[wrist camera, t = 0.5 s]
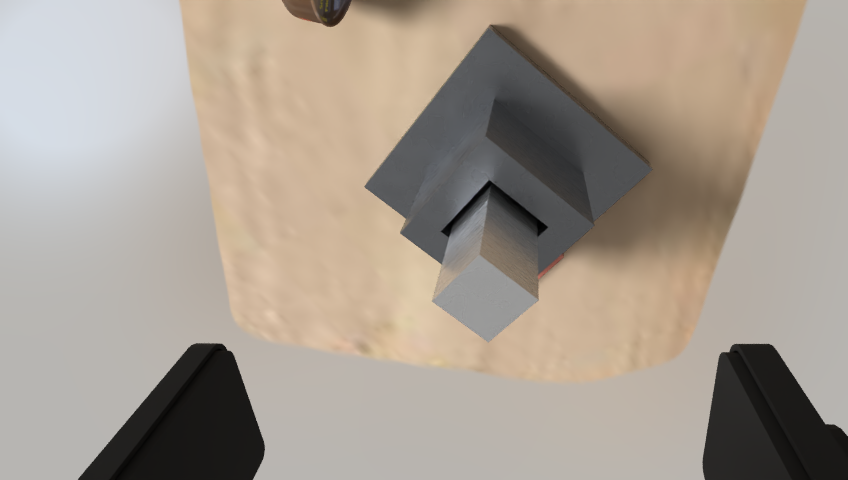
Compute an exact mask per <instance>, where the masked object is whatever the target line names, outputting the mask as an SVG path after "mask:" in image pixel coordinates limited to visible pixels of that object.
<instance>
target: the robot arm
mask: <svg viewBox="0 0 848 480" xmlns="http://www.w3.org/2000/svg"><path fill="white" fill-rule="evenodd" d="M264 451H265V445H264V441H263V438H262V435H261V432H260V429H259V426H258V423H257V421H256V418H255V415H254V412H253V410H252V406H251V403H250V400H249V397H248V395H247V392H246V389H245V386H244V383H243V380H242V377H241V374H240V371H239V369H238V366H237V363H236V360H235V357H234V355H233V353H232V352H231V351H227V349H226V347H225V346H224V345H223V344H202V343H201V344H200V343H199V344H198V343H196V344H193V345H191V346H190V347H189V348H188V349H187V351H186V352H185V353H184V354H183V355H182V357H181V358H180V359H179V360H178V361H177V362H176V364H175V365H174V366H173V367H172V368H171V369H170V371H169V372H168V373H167V374H166V375H165V377H164V378H163V379H162V380H161V381H160V383H159V384H158V385H157V386H156V387H155V389H154V390H153V391H152V392H151V393H150V394H149V396H148V397H147V398H146V399H145V400H144V401H143V403H142V404H141V405H140V406H139V408H138V409H137V410H136V411H135V412H134V414H133V415H132V416H131V417H130V418H129V419H128V421H127V422H126V423H125V424H124V425H123V427H122V428H121V429H120V430H119V431H118V432H117V434H116V435H115V436H114V437H113V438H112V440H111V441H110V442H109V443H108V444H107V445H106V447H105V448H104V449H103V450H102V451H101V453H100V454H99V455H98V456H97V457H96V459H95V460H94V461H93V462H92V463H91V464H90V466H89V467H88V468H87V469H86V470H85V472H84V473H83V474H82V475H81V476H80V477H79V479H78V480H253V478H254V476H255V474H256V472H257V470H258V468H259V466H260V464H261V462H262V460H263V457H264ZM703 473H704V477H705V480H848V436H847V435H846V434H845V433H844V431H842V429H841V428H839V427H837V426H836V425H829V424H825V423H824V422H823V420H822V419H821V417H820V416H819V414H818V413H817V411H816V409H815V408H814V406H813V405H812V403H811V402H810V400H809V399H808V397H807V396H806V394H805V393H804V392H803V390H802V388H801V387H800V385H799V384H798V382H797V381H796V379H795V378H794V376H793V375H792V373H791V372H790V370H789V369H788V367H787V366H786V364H785V362H784V361H783V360H782V358H781V356H780V355H779V353H778V352H777V350H776V349H775V348H774V347H773V346H772V345H770V344H734V345H732V347H731V349H730V352H723V353H721V354H720V356H719V361H718V367H717V373H716V379H715V386H714V392H713V398H712V405H711V411H710V417H709V423H708V429H707V436H706V443H705V449H704V455H703Z"/></svg>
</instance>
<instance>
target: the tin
mask: <svg viewBox="0 0 848 480" xmlns="http://www.w3.org/2000/svg"><path fill="white" fill-rule="evenodd" d="M282 1H283V3H284V5H285V7H286V8H287V10H288V11H289V12H290V13H291V14H292V15H294V16H295V17H297V18H300V19H303V20H307V21H312V22H317V23H321V24H323V25H325V26H327V27H333V26H335V25H337V24H338V23H339V22H340V21H341V20H342V19H343V17H344V16H345V14H346V12H347V10H348V8H349V6H350V3H351V1H352V0H282Z"/></svg>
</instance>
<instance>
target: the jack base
mask: <svg viewBox="0 0 848 480" xmlns="http://www.w3.org/2000/svg"><path fill="white" fill-rule="evenodd" d="M652 170H653V169H652V168H651V166H650V164H649V162H648V161H647V160H646V159H644V158H643V157H642V156H641V155H640V154H639V153H638V152H636V151H635V150H634V149H633V148H632V147H631V146H629V145H628V144H627V143H626V142H625V141H624V140H623V139H621V138H620V137H619V136H618V135H617V134H616V133H614V132H613V131H612V130H611V129H610V128H609V127H608V126H606V125H605V124H604V123H603V122H602V121H601V120H599V119H598V118H597V117H596V116H595V115H594V114H593V113H591V112H590V111H589V110H588V109H587V108H586V107H584V106H583V105H582V104H581V103H580V102H579V101H578V100H576V99H575V98H574V97H573V96H572V95H571V94H570V93H568V92H567V91H566V90H565V89H564V88H563V87H561V86H560V85H559V84H558V83H557V82H556V81H555V80H553V79H552V78H551V77H550V76H549V75H548V74H546V73H545V72H544V71H543V70H542V69H541V68H540V67H538V66H537V65H536V64H535V63H534V62H533V61H531V60H530V59H529V58H528V57H527V56H526V55H525V54H523V53H522V52H521V51H520V50H519V49H518V48H516V47H515V46H514V45H513V44H512V43H511V42H510V41H508V40H507V39H506V38H505V37H504V36H503V35H501V34H500V33H499V32H498V31H497V30H496V29H495V28H493V27H492V26H491V25H490V26H489V27H488V28H487V29H486V31H485V32H484V33H483V35H482V36H481V37H480V38H479V40H478V41H477V42H476V43H475V45H474V46H473V47H472V49H471V50H470V51H469V52H468V54H467V55H466V56H465V58H464V59H463V60H462V61H461V63H460V64H459V65H458V67H457V68H456V69H455V70H454V72H453V73H452V74H451V75H450V77H449V78H448V79H447V81H446V82H445V83H444V84H443V86H442V87H441V88H440V90H439V91H438V92H437V93H436V95H435V96H434V97H433V99H432V100H431V101H430V102H429V104H428V105H427V106H426V107H425V109H424V110H423V111H422V113H421V114H420V115H419V116H418V118H417V119H416V120H415V122H414V123H413V124H412V125H411V127H410V128H409V129H408V131H407V132H406V133H405V134H404V136H403V137H402V138H401V140H400V141H399V142H398V143H397V145H396V146H395V147H394V148H393V150H392V151H391V152H390V154H389V155H388V156H387V157H386V159H385V160H384V161H383V163H382V164H381V165H380V166H379V168H378V169H377V170H376V172H375V173H374V174H373V175H372V177H371V178H370V179H369V181H368V182H367V184H366V185H365V188H366V189H368V190H369V191H370V192H372V193H373V194H374V195H376V196H377V197H378V198H380V199H381V200H382V201H384V202H385V203H386V204H388V205H389V206H390V207H392V208H393V209H394V210H395V211H397V212H398V213H399V214H401V215H402V216H403V217H405V218H406V221H405V223H404V225H403V227H402V230H401V232H400V234H402V235H403V236H404V237H406V238H407V239H408V240H410V241H411V242H412V243H414V244H415V245H416V246H418V247H419V248H421V249H422V250H423V251H425V252H426V253H427V254H429V255H430V256H431V257H433V258H434V259H435V260H437V261H438V262H439V263H441V264H442V262H443V259H444V255H445V251H446V248H447V244H448V240H449V237H450V233H451V229H452V226H453V222H454V218H455V216H456V215H457V214H458V212H459V211H460V210H461V209H462V208H463V207H464V206H465V205H466V204H467V203H468V202H469V201H470V200H471V199H472V198H473V196H474V195H475V194H476V193H477V192H478V191H479V190H480V189H481V188H482V187H483V186H484V185H485V184H486V183H487V182H488V180H490V181H491V182H493V183H494V184H495V185H496V186H498V187H499V188H500V189H501V190H503V191H504V192H505V193H506V194H508V195H509V196H510V197H511V198H513V199H514V200H515V201H516V202H518V203H519V204H520V205H521V206H523V207H524V208H525V209H526V210H528V211H529V212H530V213H531V214H533V215H534V216H535V217H536V218H537V235H538V279H539V278H540V277H542V276H543V275H544V274H545V273H546V272H547V271H548V270H550V269H551V268H552V267H553V266H554V265H555V264H556V263H558V262H559V261H560V260H561V259H562V258H563V257H564V254H563V253H564V252H565V251H566V250H567V249H568V248H569V247H570V246H572V245H573V244H574V243H575V242H576V241H577V240H578V239H580V238H581V237H582V236H583V235H584V234H585V233H586V232H588V231H589V230H590V229H591V228H592V227H593V226H594V221H595V220H596V219H597V218H598V217H600V216H601V215H602V214H603V213H604V212H605V211H606V210H607V209H609V208H610V207H611V206H612V205H613V204H614V203H615V202H617V201H618V200H619V199H620V198H621V197H622V196H623V195H624V194H626V193H627V192H628V191H629V190H630V189H631V188H632V187H634V186H635V185H636V184H637V183H638V182H639V181H640V180H641V179H643V178H644V177H645V176H646V175H647V174H648V173H649V172H651V171H652Z"/></svg>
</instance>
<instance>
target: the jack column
mask: <svg viewBox="0 0 848 480" xmlns="http://www.w3.org/2000/svg"><path fill="white" fill-rule="evenodd" d="M538 300H539V298H538V235H537V218H536V217H535V216H534V215H533V214H531V213H530V212H529V211H528V210H526V209H525V208H524V207H523V206H521V205H520V204H519V203H518V202H516V201H515V200H514V199H513V198H511V197H510V196H509V195H508V194H506V193H505V192H504V191H503V190H501V189H500V188H499V187H498V186H496V185H495V184H494V183H493V182H491V181H490V180H488V182H487V183H486V184H485V185H484V186H483V187H482V188H481V189H480V190H479V191H478V192H477V193H476V194H475V195H474V196H473V198H472V199H471V200H470V201H469V202H468V203H467V204H466V205H465V206H464V207H463V208H462V209H461V210H460V211H459V212H458V214H457V215H456V216H455V218H454V222H453V226H452V229H451V233H450V237H449V240H448V244H447V248H446V251H445V255H444V259H443V262H442V266H441V270H440V273H439V277H438V281H437V284H436V288H435V292H434V295H433V299H432V302H434V303H435V304H436V305H438V306H439V307H441V308H442V309H443V310H445V311H446V312H447V313H449V314H450V315H452V316H453V317H454V318H456V319H457V320H458V321H460V322H461V323H463V324H464V325H465V326H467V327H468V328H469V329H471V330H472V331H473V332H475V333H476V334H478V335H479V336H480V337H482V338H483V339H484V340H486V341H487V342H489V341H491V340H492V339H493V338H494V337H495V336H496V335H498V334H499V333H500V332H501V331H502V330H504V329H505V328H506V327H507V326H508V325H509V324H511V323H512V322H513V321H514V320H515V319H517V318H518V317H519V316H520V315H521V314H523V313H524V312H525V311H526V310H527V309H528V308H530V307H531V306H532V305H533V304H534V303H536V302H537V301H538Z"/></svg>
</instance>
